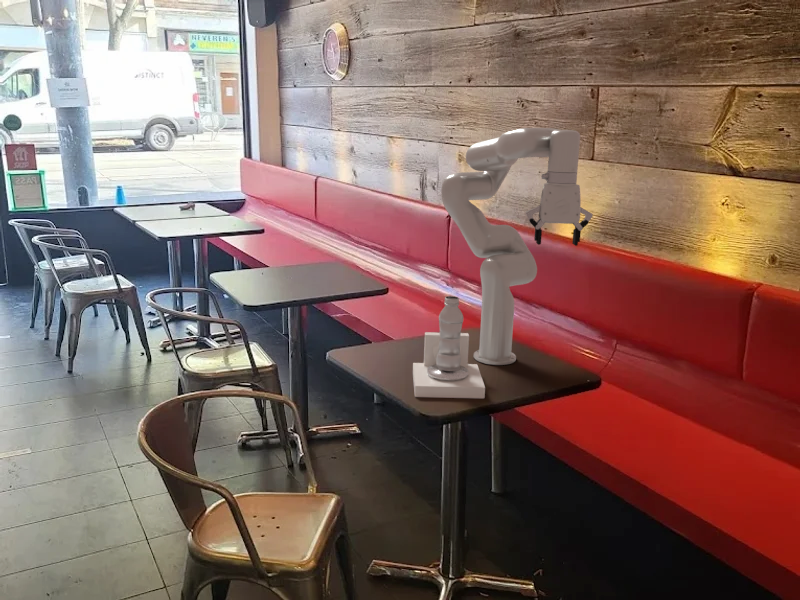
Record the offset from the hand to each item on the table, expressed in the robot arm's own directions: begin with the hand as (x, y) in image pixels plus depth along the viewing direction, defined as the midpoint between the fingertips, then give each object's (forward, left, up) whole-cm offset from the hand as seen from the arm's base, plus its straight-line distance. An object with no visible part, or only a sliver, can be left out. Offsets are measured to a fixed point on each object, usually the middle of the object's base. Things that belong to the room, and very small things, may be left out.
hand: (556, 244), depth 198 cm
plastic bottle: (+5, -28, -34) cm, 44 cm away
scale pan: (+5, -28, -35) cm, 45 cm away
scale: (+5, -28, -38) cm, 47 cm away
